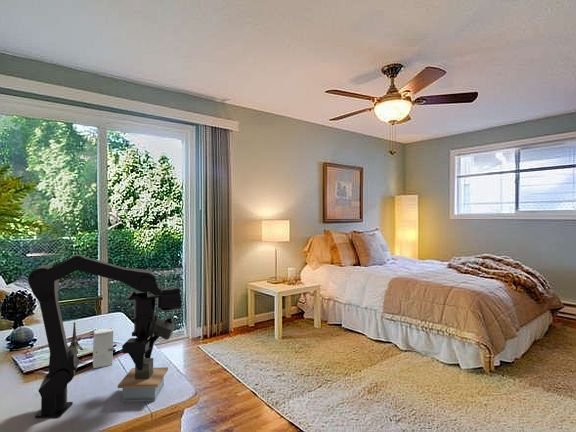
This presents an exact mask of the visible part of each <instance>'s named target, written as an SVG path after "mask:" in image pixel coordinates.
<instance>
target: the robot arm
mask: <svg viewBox="0 0 576 432" xmlns="http://www.w3.org/2000/svg"><path fill="white" fill-rule="evenodd" d="M76 271H80V272H84V273H88V274H91V275H95V276H99V277H102V278H105V279H110V280H113V281H116V282H121V283H122V284H125V285H127V286H128V287H130V288H133V290H132V291H131V293H129V294H128V295H127V301H134V308H133V310H134V312H133V313H134V314H133V315H134V316H133V318H131V323H134V324H133V329H134V330H133V331H132V332H131V337H130V338H129V339H128V340H127V341H126V342H125V343H124V344H123V345H122V346H121V353H122V354H128V356H129V357H130V358H131V360H132V361H133V363H134V366H135V365H136V367H137V369H138V370H142V369H143V364H144V358H152V352H153V350H154V345H155V342H156V341H157V340H158V339H159V338H160V337H161V338H163V339H164V340H169V339H170V338H171V337H172V335H173V332H174V330H175V328H176V324H175V323H174V318H173V317H170V316H168V317H167V318H166V319H165V320H164V319H159V315H158V314H157V313H156V309H159V310H161V311H160V312H168V311H170V312H172V311H179V310H181V309H182V301H183V299H181V298H182V296H181V288H180V287H179V286H178V287H177V286H176V287H175V286H174V287H173V288H172V287H171V288H161V286H160V285H158V283H157V279H156V277H155V275H154V272H152V271H151V270H149V269H142V268H130V267H123V266H119V265H116V264H113V263H109V262H107V261H106V262H105V261H103V260H102V261H101V260H98V259H94V258H91V257H88V256H85V255H82V254H80V253H79V254H78V253H77V254H75V255H73V256H71V257H69V258H66V259H64V260H61V261H59V262H56V263H54V264H52V265H50V264H45V265H40V266H38V267H37V268H35V269H34V270H33V271H32V272H30V274H29V275H28V277H27V283H28V285H29V287H30V289H31V291H32V294H33V296H34V297H35V299H36V300H37V301H38V303H39V306H40V311H41V316H42V320H43V325H44V326H43V327H44V331H45V336H46V340H47V345H48V349H49V350H48V351H49V361H48V362H49V363H48V373H47V374H46V375H45V376H44V377H43V379H42V382H41V384H40V386H39V389H38V393H39V396H40V398H41V399H40V401H41V402H40V405H41V407H40V408H41V409H40V410H39V411H38V412H36V414H35V415H34V418H59V417H62V416H63V414H65V412H66V411H68V410H69V408H70V407H71V406H72V405H73V401H68V384H70V383H71V381H73V379H74V376H75V374H76V371H77V369H78V366H79V363H80V359H79V357H78V356H77V349H76V348H75V349H73V350H71V349H70V348H69V346H70V345H69V344H68V341H67V335H66V331H65V326H64V321H63V318H62V312H61V308H60V306H61V305H60V302H59V298H58V297H59V296H58V294H59V286H60V284H59V283H60V282H59V281H60V279H62V278H64V277H66V276H67V275H71V274H72V273H74V272H76ZM137 291H138V292H137ZM148 293H150V294H148ZM156 307H157V308H156Z"/></svg>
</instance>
